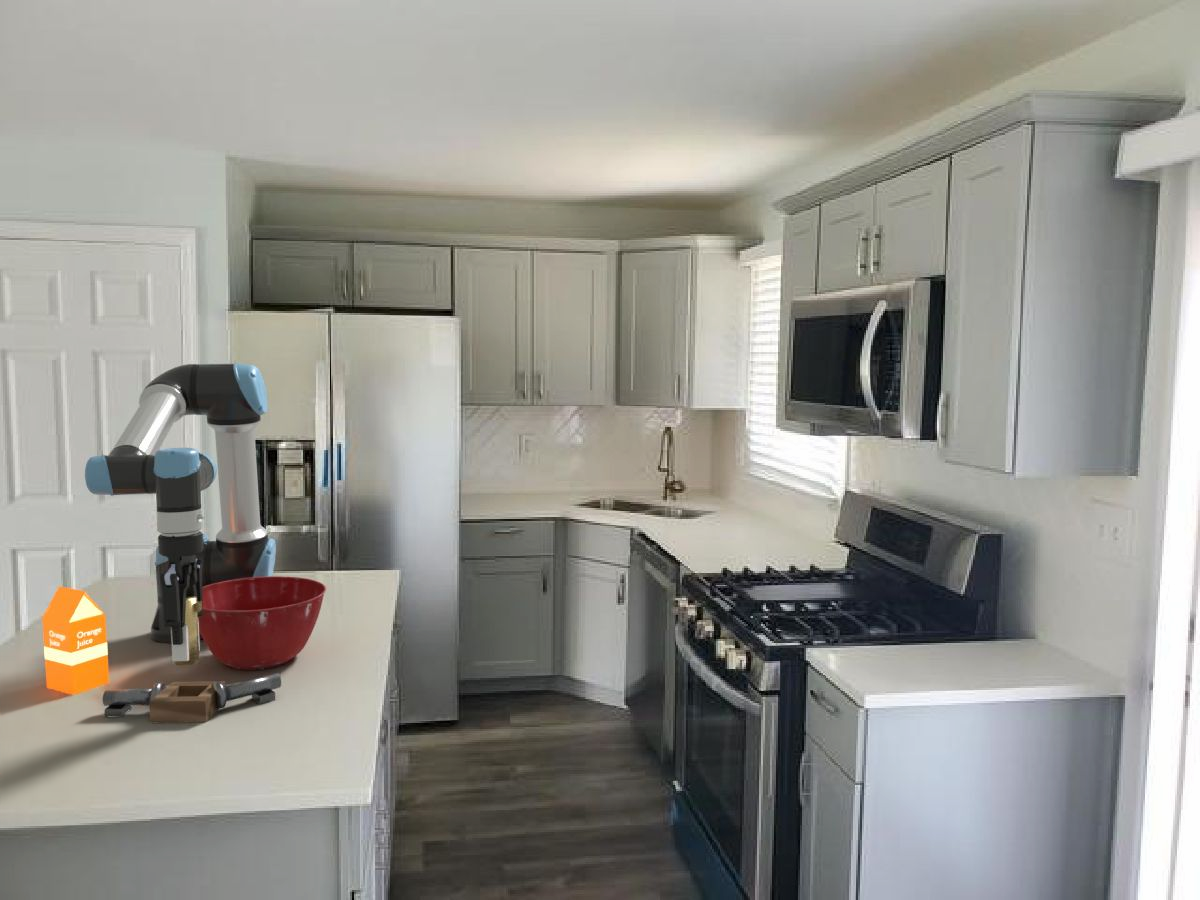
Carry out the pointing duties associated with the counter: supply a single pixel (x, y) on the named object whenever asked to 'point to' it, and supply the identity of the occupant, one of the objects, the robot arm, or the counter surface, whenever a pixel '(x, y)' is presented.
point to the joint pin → (192, 630)
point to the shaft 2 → (247, 689)
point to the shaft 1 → (128, 699)
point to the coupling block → (184, 702)
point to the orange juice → (74, 642)
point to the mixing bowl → (259, 619)
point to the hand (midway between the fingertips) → (186, 655)
